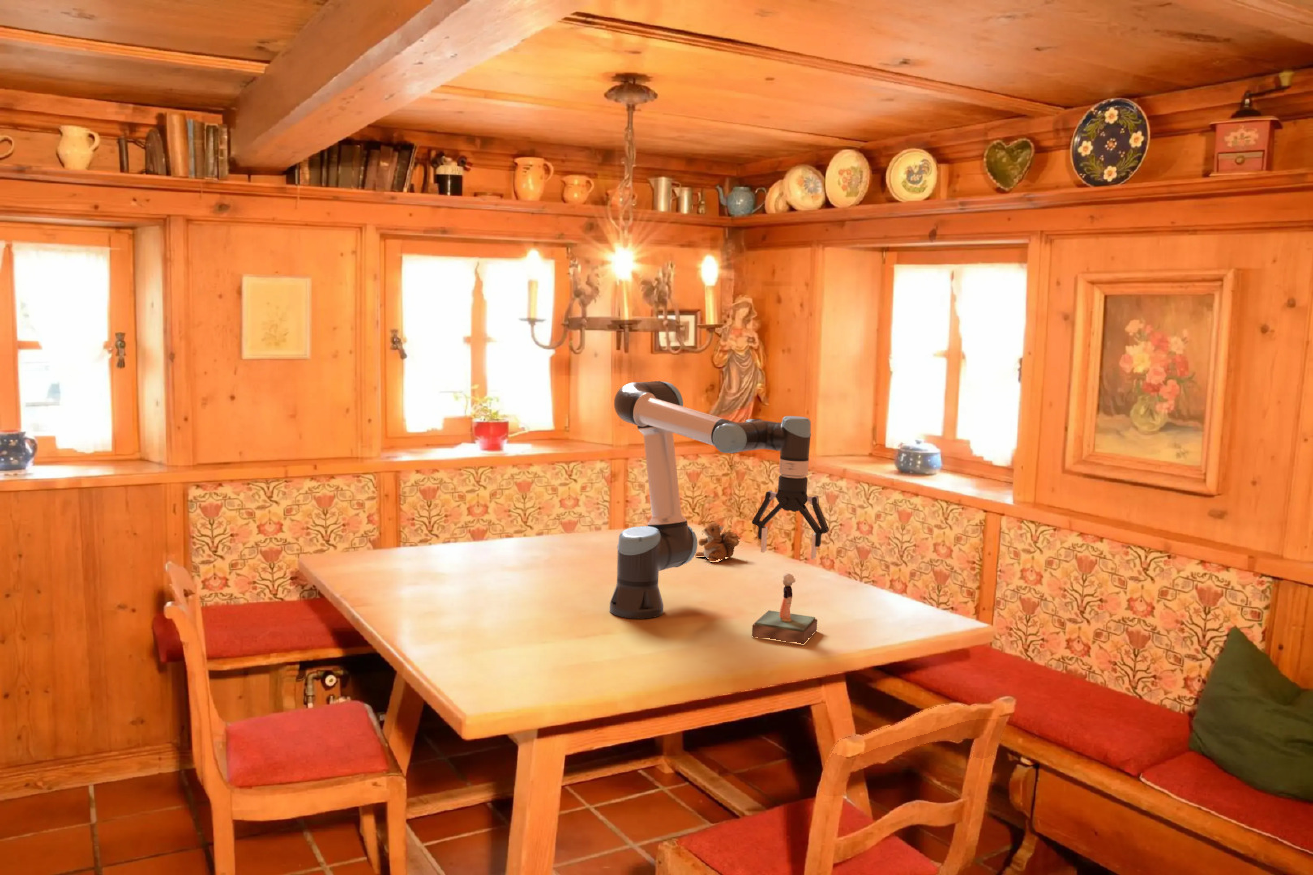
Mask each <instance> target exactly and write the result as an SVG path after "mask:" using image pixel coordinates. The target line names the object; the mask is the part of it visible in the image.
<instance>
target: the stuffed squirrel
mask: <svg viewBox="0 0 1313 875" xmlns="http://www.w3.org/2000/svg"><path fill="white" fill-rule="evenodd" d="M723 529H724V525H720V524H719V523H717V522H715V521H712V522H710V523H709V524H708V525H707V526H705V528H704V529H703V530H702V531H701V533H702V534H701V535H703V534H705V536H707V537H705V538H700V539H699V540H698V545H699V546H701V547H703V551H702V552H701V551H698V552H696V553H695V555H694V557H696V556H704V557H706V558H709V560H708V562H709V561H716V560H718V559H720V560H721V559H724V558H725V557H730V556H731V557H732V556H733V555H734V552H735V547H737V546H739V544H740V541H739V540H741V537H739V536H738V534H737V533H735V532H734V531H730V530H728V531H723ZM722 531H723V532H722ZM706 558H705V559H706ZM724 560H725V559H724Z"/></svg>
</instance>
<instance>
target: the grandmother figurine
mask: <svg viewBox="0 0 1313 875" xmlns="http://www.w3.org/2000/svg"><path fill="white" fill-rule="evenodd" d="M795 582H796V578H795V577H794V575H793V574H791V573H790V572H785V573H784V574H783V580H782V583H783V586H784V587H783V592H782V593H783V597H782V601H781V604H780V608H779V612H780V613H779V617H780V618H782V619H781V621H784V622H791V621H792V620H791V618H790V614H791V606H792V602H793V601H792V600H793V589H792V585H793V584H795Z"/></svg>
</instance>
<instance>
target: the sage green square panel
mask: <svg viewBox="0 0 1313 875" xmlns="http://www.w3.org/2000/svg"><path fill="white" fill-rule="evenodd" d="M779 613H780V611H777V610H770V609H769V610H768V611H766V612H765V613H764V614H762V615H761V617H759V618H758V619H757V620H756V621H755V622H754V623H753V624H752V625H751V626H752V628H751V637H752V636H753V637H758V638H770V639H776V640H781V641H786V642H797V643H801V644H804V643H805V642H806V641H807V640H808V638H810V637H811V636H812V634H813V633H814V632H815V631H816V630H817V631H818V619H817V618H816V617H815V616H811V615H803V614H798V613H797V614H796V613H790V618H791V620H792V621H791V622H784V621H781V619H782V618H780V617H779ZM817 631H816V632H817ZM812 637H813V636H812ZM812 637H811V638H812ZM758 638H757V639H758ZM811 638H810V639H811ZM808 641H809V640H808Z"/></svg>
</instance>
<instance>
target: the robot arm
mask: <svg viewBox="0 0 1313 875" xmlns="http://www.w3.org/2000/svg"><path fill="white" fill-rule="evenodd" d="M683 399H684V398H683V396H682V394H681V392H680V391H679V389H678V388H677V387H676V386H675V385H674V384H672V383H671V382H668V381H660V380H659V381H657V380H655V381H643V382H642V381H639V382H637V381H636V382H635V381H634V382H629V383H627V384H625V385H623V386H621V387H620V388H619V389H618V391H617V392H616V394H615V396H614V399H613V400H614V403H613V406H614V410H615V412H616V415H617V416H618V418H620V420H622V421H623V422H625V423H629V424H632V425H636V426H637V431H639V432H640V434H642V436H643V441H644V442H643V443H644V452H645V463H646V473H647V483H648V491H649V501H650V512H651V518H650V519H649V521H648V522H647V523H646V524H647V526H646V525H640V526H631V527H629V528H626V529H624V530H622V531H621V532H620V533H619V536H618V543H617V547H616V548H617V560H616V561H617V562H616V563H617V567H616V568H617V569H616V570H617V571H616V585H615V588H614V590H613V594H612V596H611V599H610V602H609V612H610V613H611V614H613V615H614V616H616V617H620V618H626V619H635V620H636V619H637V620H638V619H640V620H642V619H644V620H645V618H646V619H652V618H651V617H653V618H656V617H655V616H657V617H660V616H661V614H662V613H663V614H664V602H663V598H662V595H661V591H660V588H659V577H660V576H659V572H661V571H664V570H668V569H672V568H679V567H681V566H684V565H685V564H686V565H687V564H688V563H689V562H690V561H692V560H693V558H694V557H695V554H696V553H697V549H698V537H697V534H696V532H695V531H693V528H692V527H691V526H689V525H688V519H687V518H686V517H685V516H684V515H683V514H682V509H681V499H680V498H681V497H680V491H679V490H680V489H679V487H680V486H679V478H678V471H677V470H678V469H677V459H676V450H675V442H674V441H675V439H674V434H676V435H680V436H683V437H686V438H689V439H691V440H694V441H698V442H701V443H704V444H707V445H711V446H714V447H715V448H716V449H717V450H718V452H720V453H723V454H736V453H740V452H741V453H742V452H749V451H757V450H770V451H778V452H780V453H779V469H778V473H779V474H780V475H779V476H778V485H777V492H775V491H773V490H772V489H771V490H768V491H766V492H765V494H764V500H763V502H762V503H761V505H760V507H759V509H757V510H758V511H757V512H756V514H755V516H754V517H753V519H752V520H751V524H752V525H755V526H757V527H758V529H757V530H758V531H757V539H758V540H760V553H762V554H763V553H765V552H767V545H768V544H767V543H768V542H767V541H768V530H769V529H768V526H766V525H767V524H768V523H769V522H770V520H772V519H773V518H774V517H775V516H776V515H777V514H778V513H779V512H780V511H781V510H784V511H786V512H789V511H791V512H795V513H796V512H799V513H800V515H802V516H803V519H805V521H806V522H807V523H808V524H809V526H810V528H811V529H812V531H813V532H814V533H812V536H811V552H810V560H815V559H816V558H817V549H818V548H819V547H820V546H821V545H822V534H827V533H828V532H829V531H830V528H829V526H828V523H827V520H826V518H825V516H824V514H823V511H822V509H821V505H820V500H819V499H820V498H819V496H818V495H814V496H808V481H809V480H808V477H807V476H808V475H809V462H810V458H809V457H810V447H811V446H810V444H811V437H812V432H811V430H812V428H811V427H812V424H811V423H812V422H811V420H810V418H808V417H805V416H799V415H798V416H795V415H786V416H784V417H782V420H781V422H777V421H772V420H770V421H769V420H763V419H759V418H757V419H753V418H752V419H751V418H750V419H746V420H745V421H743V422H736V421H733V420H729V419H725V418H723V417H719V416H716V415H712V414H709V413H705V412H703V411H699V410H696V409H692V408H689V407H686V406H684V400H683ZM774 499H776V500H777V503H778V504H777V505H776V506H775V507H774V508H772V509H771V511H770V512H769V513H767V515H766V516H765V517H764V518H763V519H762V520H761V518H762V517H763V515H764V513H765V511H766V510H767V508H768V506H769V505H770V503H771V501H773V500H774ZM807 502H809V505H811V506H812V508H813V512H814V514H815V516H816V520H815V518H814V517H813V516H812V514H811V513H810V511H809V509H808V507H807V506H806V503H807ZM817 522H818V523H817ZM663 614H662V615H663Z"/></svg>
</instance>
